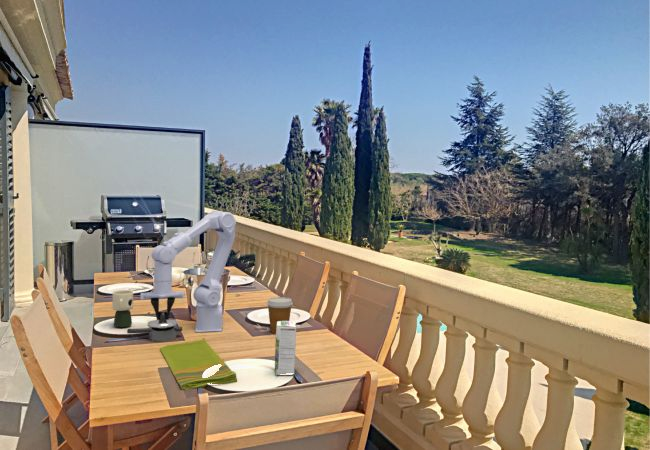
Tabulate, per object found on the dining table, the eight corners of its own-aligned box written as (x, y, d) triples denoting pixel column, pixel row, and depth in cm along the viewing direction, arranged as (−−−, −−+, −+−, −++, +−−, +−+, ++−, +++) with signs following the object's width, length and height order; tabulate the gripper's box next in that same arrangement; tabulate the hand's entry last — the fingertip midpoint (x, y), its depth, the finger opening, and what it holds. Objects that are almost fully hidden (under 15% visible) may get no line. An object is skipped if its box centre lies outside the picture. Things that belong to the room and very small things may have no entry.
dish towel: (181, 393, 134) (181, 381, 134) (158, 351, 166) (158, 341, 165) (238, 384, 141) (238, 372, 141) (206, 346, 173) (206, 336, 172)
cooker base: (182, 332, 185) (182, 323, 184) (181, 340, 176) (182, 330, 176) (129, 335, 180) (129, 325, 180) (125, 342, 172) (125, 332, 171)
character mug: (131, 330, 186) (131, 294, 185) (110, 331, 184) (109, 295, 183) (134, 322, 197) (134, 288, 196) (115, 322, 195) (114, 289, 194)
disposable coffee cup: (296, 330, 192) (297, 298, 191) (284, 336, 184) (284, 303, 183) (274, 326, 196) (275, 295, 195) (261, 332, 188) (261, 300, 187)
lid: (179, 323, 184) (179, 309, 184) (176, 329, 174) (176, 314, 174) (149, 324, 182) (150, 309, 182) (145, 330, 172) (145, 314, 172)
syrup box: (274, 368, 152) (275, 320, 151) (294, 368, 152) (296, 320, 151) (274, 376, 146) (275, 325, 145) (295, 376, 147) (296, 326, 145)
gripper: (139, 282, 172) (139, 322, 173) (184, 282, 175) (184, 321, 176) (141, 279, 178) (141, 317, 179) (185, 278, 182) (184, 316, 183)
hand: (162, 319), depth 178 cm, fingers closed on lid, 3 cm apart
